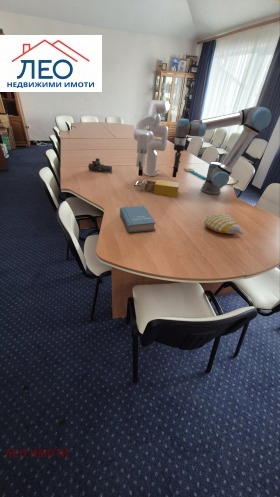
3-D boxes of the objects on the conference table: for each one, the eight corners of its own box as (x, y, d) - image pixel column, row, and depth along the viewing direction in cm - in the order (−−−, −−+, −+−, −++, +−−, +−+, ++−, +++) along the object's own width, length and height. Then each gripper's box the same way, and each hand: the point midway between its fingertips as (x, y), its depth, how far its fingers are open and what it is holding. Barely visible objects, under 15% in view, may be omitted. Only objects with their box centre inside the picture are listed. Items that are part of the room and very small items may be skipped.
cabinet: (153, 193, 175) (154, 184, 170) (156, 189, 184) (157, 179, 179) (176, 197, 172) (178, 187, 168) (177, 192, 181) (179, 182, 176)
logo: (182, 168, 234) (183, 167, 234) (191, 168, 237) (191, 167, 236) (198, 179, 209) (198, 178, 208) (207, 179, 211) (207, 178, 211)
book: (154, 230, 131) (155, 222, 128) (128, 232, 126) (128, 225, 124) (143, 212, 148) (143, 205, 145) (119, 214, 144) (120, 207, 141)
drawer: (133, 189, 177) (134, 182, 174) (136, 185, 185) (137, 178, 182) (161, 193, 174) (162, 186, 170) (163, 189, 182) (164, 182, 178)
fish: (254, 225, 128) (232, 232, 118) (249, 236, 132) (228, 244, 123) (221, 208, 144) (199, 213, 134) (217, 218, 149) (196, 224, 139)
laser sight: (109, 174, 206) (109, 163, 200) (87, 171, 209) (86, 160, 203) (112, 171, 214) (112, 160, 208) (90, 168, 217) (90, 157, 211)
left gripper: (139, 148, 170) (138, 172, 181) (134, 152, 158) (133, 177, 169) (148, 149, 169) (147, 173, 180) (144, 153, 157) (143, 179, 168)
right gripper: (176, 140, 166) (172, 169, 178) (172, 147, 146) (168, 178, 159) (186, 141, 165) (181, 170, 177) (183, 148, 145) (178, 180, 157)
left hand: (140, 175), depth 175 cm, fingers closed
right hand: (175, 174), depth 168 cm, fingers open, 13 cm apart
